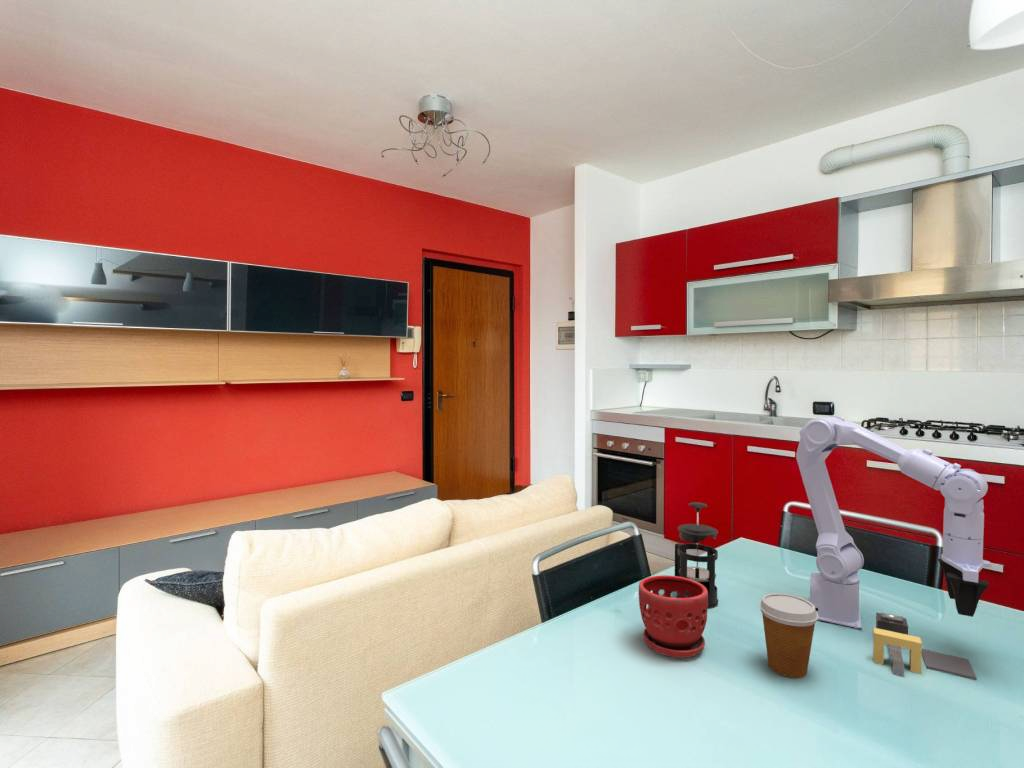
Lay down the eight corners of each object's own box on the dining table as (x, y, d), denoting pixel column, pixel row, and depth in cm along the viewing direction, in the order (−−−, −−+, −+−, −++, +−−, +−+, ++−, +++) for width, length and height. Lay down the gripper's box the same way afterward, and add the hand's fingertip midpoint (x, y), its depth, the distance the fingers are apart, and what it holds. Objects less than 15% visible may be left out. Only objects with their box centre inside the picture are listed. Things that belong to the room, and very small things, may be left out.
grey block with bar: (881, 670, 95) (881, 644, 95) (875, 631, 109) (876, 608, 109) (916, 679, 92) (916, 652, 92) (905, 637, 107) (906, 614, 106)
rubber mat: (926, 668, 96) (926, 665, 96) (921, 650, 102) (921, 648, 102) (976, 679, 92) (976, 677, 92) (968, 661, 98) (968, 659, 98)
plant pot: (718, 644, 104) (719, 584, 104) (689, 672, 94) (690, 606, 94) (657, 622, 113) (658, 567, 113) (625, 646, 103) (626, 585, 103)
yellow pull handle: (873, 662, 98) (874, 633, 97) (873, 656, 100) (873, 627, 100) (921, 673, 94) (921, 643, 94) (919, 667, 96) (919, 637, 96)
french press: (729, 604, 122) (730, 506, 121) (700, 613, 117) (701, 511, 117) (690, 586, 132) (691, 495, 131) (662, 593, 128) (663, 499, 127)
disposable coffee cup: (795, 689, 89) (796, 619, 89) (747, 661, 98) (748, 598, 97) (829, 674, 94) (830, 608, 93) (780, 649, 102) (781, 588, 102)
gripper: (1002, 550, 90) (1000, 628, 90) (981, 528, 102) (979, 597, 103) (949, 543, 94) (947, 618, 94) (935, 522, 106) (933, 589, 106)
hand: (960, 606), depth 99 cm, fingers open, 7 cm apart
